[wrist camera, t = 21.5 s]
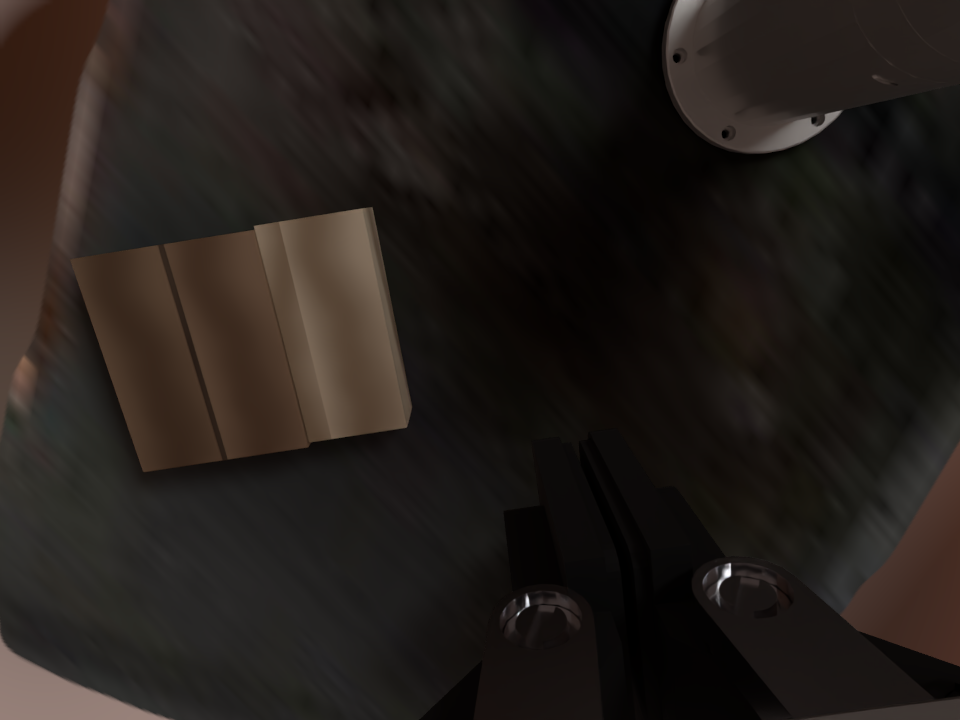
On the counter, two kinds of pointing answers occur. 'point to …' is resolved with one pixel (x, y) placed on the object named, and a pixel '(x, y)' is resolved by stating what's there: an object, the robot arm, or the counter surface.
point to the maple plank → (337, 323)
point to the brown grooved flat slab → (194, 350)
